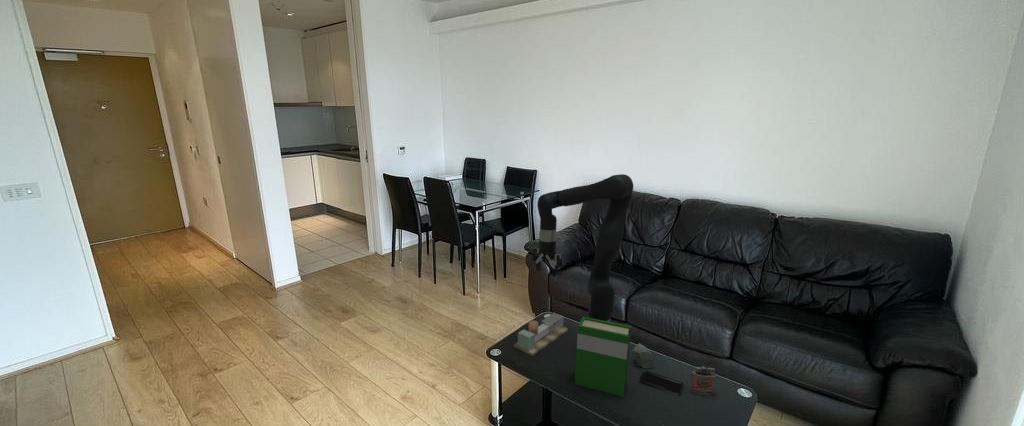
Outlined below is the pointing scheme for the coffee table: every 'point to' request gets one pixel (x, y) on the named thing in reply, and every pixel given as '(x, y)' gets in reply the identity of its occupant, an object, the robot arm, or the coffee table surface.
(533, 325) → the tube
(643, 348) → the mineral specimen
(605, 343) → the hardback book
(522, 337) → the sage socket
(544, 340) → the oak base
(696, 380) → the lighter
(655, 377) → the phone
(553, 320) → the aluminium sleeve
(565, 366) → the coffee table surface
